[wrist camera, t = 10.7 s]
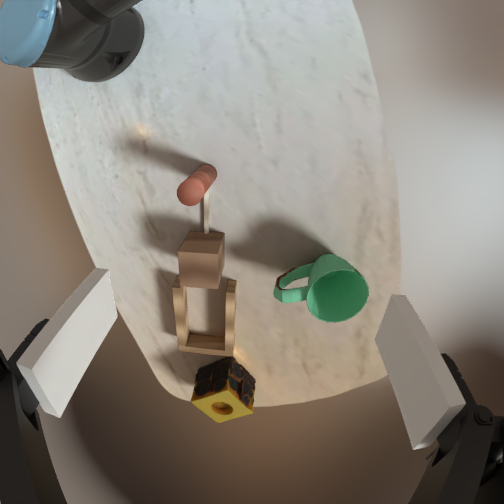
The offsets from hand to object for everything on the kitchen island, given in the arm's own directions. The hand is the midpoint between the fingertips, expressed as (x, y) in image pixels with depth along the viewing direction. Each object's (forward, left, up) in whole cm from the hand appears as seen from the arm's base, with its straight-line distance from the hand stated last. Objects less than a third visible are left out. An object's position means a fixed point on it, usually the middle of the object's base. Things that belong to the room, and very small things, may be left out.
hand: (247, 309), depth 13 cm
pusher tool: (+9, -8, -36) cm, 38 cm away
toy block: (+47, -4, -37) cm, 60 cm away
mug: (+17, +11, -37) cm, 42 cm away
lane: (+28, -8, -36) cm, 47 cm away
